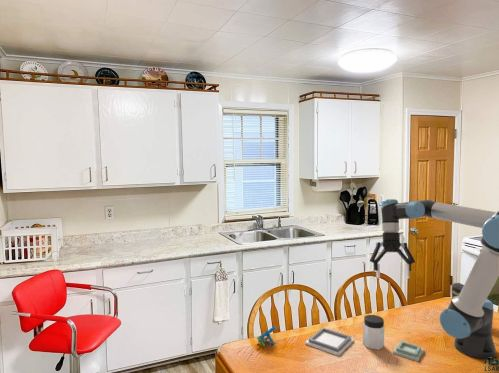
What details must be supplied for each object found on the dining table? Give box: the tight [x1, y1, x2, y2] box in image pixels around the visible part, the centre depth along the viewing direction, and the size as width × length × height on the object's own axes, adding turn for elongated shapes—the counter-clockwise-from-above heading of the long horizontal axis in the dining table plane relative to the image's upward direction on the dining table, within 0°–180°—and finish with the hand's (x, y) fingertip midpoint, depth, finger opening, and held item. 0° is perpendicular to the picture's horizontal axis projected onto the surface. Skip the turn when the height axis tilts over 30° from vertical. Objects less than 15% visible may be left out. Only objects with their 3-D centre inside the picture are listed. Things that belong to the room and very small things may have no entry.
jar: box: [362, 314, 386, 351], centre depth 160 cm, size 9×8×12 cm
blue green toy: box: [256, 325, 277, 348], centre depth 161 cm, size 11×6×10 cm
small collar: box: [392, 340, 425, 362], centre depth 154 cm, size 10×10×2 cm
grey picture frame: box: [305, 327, 355, 357], centre depth 162 cm, size 16×16×2 cm
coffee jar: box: [450, 282, 464, 300], centre depth 184 cm, size 10×8×19 cm
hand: (392, 278), depth 168 cm, fingers open, 13 cm apart
